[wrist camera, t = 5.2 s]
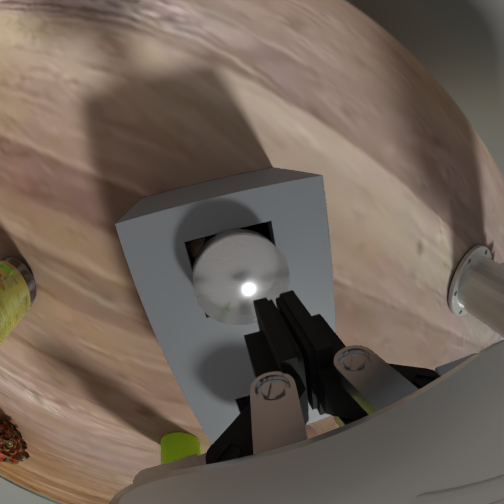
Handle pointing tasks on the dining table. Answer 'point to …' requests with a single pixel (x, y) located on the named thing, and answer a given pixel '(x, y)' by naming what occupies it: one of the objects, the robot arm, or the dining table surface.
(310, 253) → the button box
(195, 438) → the soap dispenser
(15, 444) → the dragon fruit
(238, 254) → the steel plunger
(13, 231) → the dining table surface
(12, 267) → the sauce bottle
